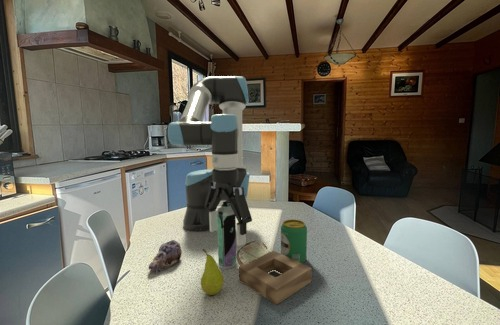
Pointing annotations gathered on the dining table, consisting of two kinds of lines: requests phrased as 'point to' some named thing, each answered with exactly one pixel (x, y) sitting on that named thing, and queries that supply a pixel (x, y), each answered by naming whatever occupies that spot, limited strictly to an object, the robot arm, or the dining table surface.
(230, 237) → the spray can
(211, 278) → the fruit
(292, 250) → the beverage can
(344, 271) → the dining table surface
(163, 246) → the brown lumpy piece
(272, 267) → the hole block
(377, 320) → the dining table surface
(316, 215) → the dining table surface
